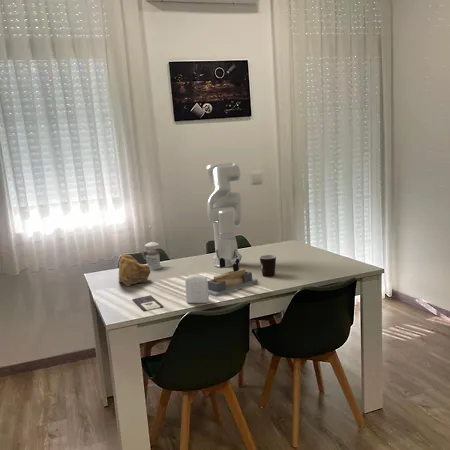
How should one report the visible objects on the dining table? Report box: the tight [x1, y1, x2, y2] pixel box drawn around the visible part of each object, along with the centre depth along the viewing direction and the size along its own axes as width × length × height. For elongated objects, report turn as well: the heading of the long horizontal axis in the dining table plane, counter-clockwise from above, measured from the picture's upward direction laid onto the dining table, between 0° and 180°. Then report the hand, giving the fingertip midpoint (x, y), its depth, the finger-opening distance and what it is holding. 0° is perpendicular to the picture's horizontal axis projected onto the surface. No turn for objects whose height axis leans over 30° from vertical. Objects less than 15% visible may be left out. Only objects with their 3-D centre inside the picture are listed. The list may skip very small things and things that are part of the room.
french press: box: [141, 225, 163, 271], centre depth 270 cm, size 10×12×25 cm
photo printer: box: [184, 274, 210, 304], centre depth 206 cm, size 10×4×12 cm, turn 81°
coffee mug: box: [259, 254, 277, 278], centre depth 241 cm, size 12×9×10 cm
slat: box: [213, 267, 246, 287], centre depth 225 cm, size 3×18×6 cm, turn 132°
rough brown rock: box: [118, 253, 151, 287], centre depth 243 cm, size 23×17×15 cm
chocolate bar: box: [132, 295, 164, 312], centre depth 209 cm, size 9×1×18 cm
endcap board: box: [207, 270, 259, 297], centre depth 225 cm, size 10×28×5 cm, turn 133°
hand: (229, 269), depth 225 cm, fingers open, 9 cm apart
